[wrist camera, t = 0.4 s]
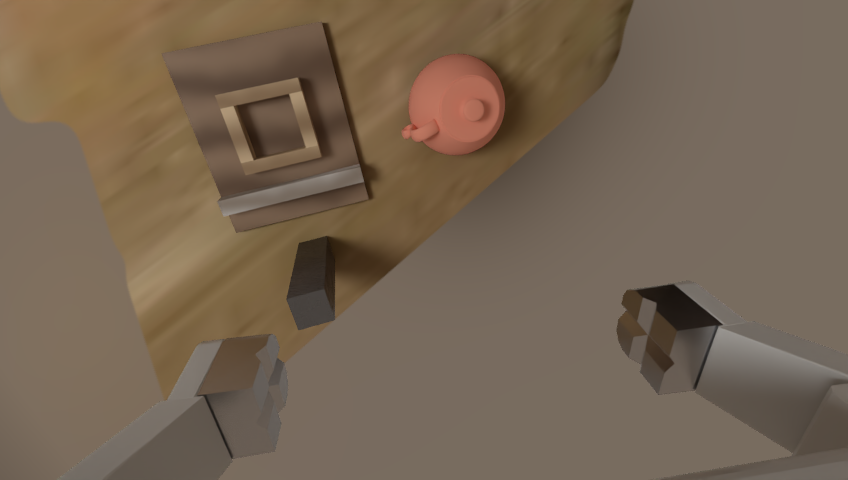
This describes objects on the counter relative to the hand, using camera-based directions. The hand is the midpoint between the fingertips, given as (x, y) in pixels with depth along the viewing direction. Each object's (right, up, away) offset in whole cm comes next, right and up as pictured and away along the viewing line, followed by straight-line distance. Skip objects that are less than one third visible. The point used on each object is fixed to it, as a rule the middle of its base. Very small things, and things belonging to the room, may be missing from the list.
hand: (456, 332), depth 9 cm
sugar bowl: (+2, +20, +45) cm, 49 cm away
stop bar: (-16, 0, +49) cm, 51 cm away
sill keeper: (-19, +17, +42) cm, 49 cm away
